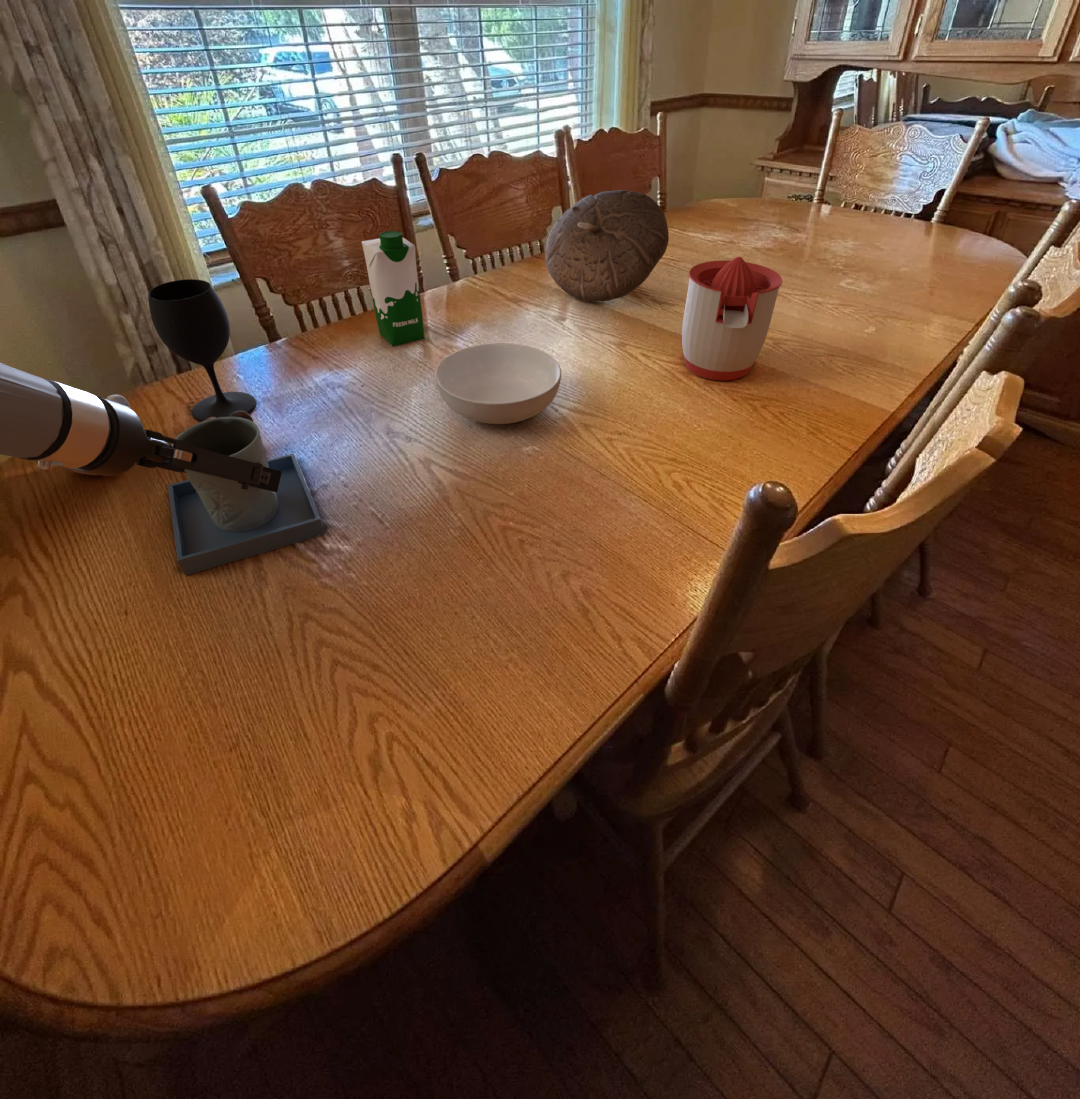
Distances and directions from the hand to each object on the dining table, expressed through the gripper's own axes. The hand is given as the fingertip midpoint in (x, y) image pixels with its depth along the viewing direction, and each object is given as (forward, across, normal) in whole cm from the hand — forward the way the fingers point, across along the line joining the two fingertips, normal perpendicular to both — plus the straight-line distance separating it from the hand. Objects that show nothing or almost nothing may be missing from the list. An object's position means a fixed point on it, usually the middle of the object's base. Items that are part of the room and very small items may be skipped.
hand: (231, 472), depth 82 cm
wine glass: (+21, -22, +11) cm, 32 cm away
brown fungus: (+74, +27, +64) cm, 102 cm away
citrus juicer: (+49, +57, +39) cm, 85 cm away
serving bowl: (+31, +23, +22) cm, 45 cm away
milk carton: (+46, -6, +36) cm, 59 cm away
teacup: (+9, -28, -1) cm, 29 cm away
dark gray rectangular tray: (+5, 0, -5) cm, 7 cm away
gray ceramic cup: (+4, 0, -5) cm, 7 cm away
